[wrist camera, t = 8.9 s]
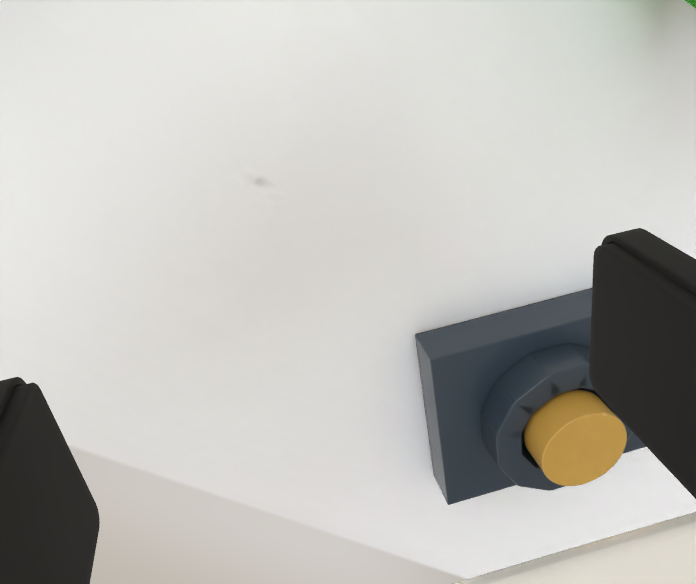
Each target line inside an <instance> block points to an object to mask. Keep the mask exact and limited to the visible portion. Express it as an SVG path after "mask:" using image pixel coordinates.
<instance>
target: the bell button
mask: <svg viewBox="0 0 696 584" xmlns="http://www.w3.org/2000/svg"><path fill="white" fill-rule="evenodd" d="M524 441H525V445H526V448H527V450H528V451H529V453H530V454H531V455H532V457H533V458H534V460H535V461H536V463H537V464H538V466H539V467H540V468H541V470H542V471H543V473H544V474H545V476H546V477H547V478H548V479H549V480H550V481H552V482H554V483H556V484H559V485H563V486H576V485H581V484H585V483H588V482H590V481H593V480H595V479H597V478H598V477H600V476H602V475H603V474H605V473H606V472H607V471H608V470H609V469H611V468H612V467H613V466H614V464H615V463H616V462H617V461H618V460H619V458H620V457H621V455H622V453H623V451H624V449H625V446H626V441H627V433H626V429H625V426H624V424H623V423H622V421H621V420H620V419H619V418H618V417H617V416H616V415H615V414H614V413H613V412H612V411H611V410H610V409H609V408H608V407H607V406H606V404H605V403H604V402H603V401H602V400H601V399H600V398H599V397H598V396H596V395H595V394H593V393H591V392H588V391H584V390H571V391H568V392H564V393H561V394H557V395H556V396H554V397H553V398H552V399H550V400H549V401H548V402H546V403H545V404H544V405H543V406H541V407H540V408H539V409H537V410H536V411H535V412H534V413H533V414H532V415H531V417H530V419H529V421H528V423H527V425H526V428H525V432H524Z"/></svg>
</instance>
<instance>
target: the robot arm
mask: <svg viewBox="0 0 696 584" xmlns="http://www.w3.org/2000/svg"><path fill="white" fill-rule="evenodd" d="M589 377H590V382H591V384H592V387H593V388H594V390H595V392H596V393H597V394H598V395H599V396H600V397H601V399H602V400H603V401H604V402H605V403H606V404H607V405H608V406H609V407H610V408H611V409H612V410H613V411H614V412H615V413H616V415H617V416H618V417H619V418H620V419H621V420H622V421H623V422H624V423H625V424H626V425H627V426H628V427H629V428H630V429H631V430H632V432H633V433H634V434H635V435H636V436H637V437H638V438H639V439H640V440H641V441H642V442H643V443H644V444H645V445H646V446H647V447H648V449H649V450H650V451H651V452H652V453H653V454H654V455H655V456H656V457H657V458H658V459H659V460H660V461H661V462H662V463H663V464H664V466H665V467H666V468H667V469H668V470H669V471H670V472H671V473H672V474H673V475H674V476H675V477H676V478H677V479H678V480H679V481H680V483H681V484H682V485H683V486H684V487H685V488H686V489H687V490H688V491H689V492H690V493H691V494H692V495H693V496H694V497H695V498H696V259H694V258H692V257H691V256H689V255H687V254H685V253H684V252H682V251H680V250H679V249H677V248H675V247H673V246H672V245H670V244H668V243H667V242H665V241H663V240H661V239H660V238H658V237H656V236H655V235H653V234H651V233H650V232H648V231H646V230H644V229H641V228H638V229H633V230H629V231H625V232H621V233H616V234H612V235H608V236H606V237H605V238H604V240H603V242H602V245H601V246H598V247H597V248H596V250H595V252H594V264H593V287H592V311H591V335H590V359H589ZM98 532H99V514H98V509H97V506H96V503H95V501H94V499H93V497H92V495H91V493H90V491H89V489H88V486H87V484H86V482H85V480H84V478H83V476H82V474H81V472H80V470H79V468H78V466H77V464H76V462H75V460H74V458H73V455H72V454H71V451H70V449H69V447H68V445H67V443H66V441H65V439H64V437H63V435H62V433H61V431H60V429H59V426H58V424H57V422H56V420H55V418H54V416H53V414H52V412H51V410H50V408H49V406H48V404H47V402H46V400H45V398H44V396H43V393H42V391H41V390H40V388H39V386H38V385H37V384H35V383H29V384H26V383H25V382H24V381H23V380H22V379H21V378H19V377H15V378H11V379H7V380H2V381H0V584H90V578H91V572H92V566H93V561H94V555H95V549H96V543H97V537H98ZM454 584H696V512H694V513H691V514H687V515H684V516H680V517H677V518H674V519H670V520H667V521H663V522H660V523H656V524H653V525H650V526H646V527H643V528H639V529H636V530H632V531H629V532H626V533H622V534H619V535H615V536H612V537H609V538H605V539H602V540H598V541H595V542H591V543H588V544H585V545H581V546H578V547H574V548H571V549H568V550H564V551H561V552H557V553H554V554H551V555H547V556H544V557H541V558H537V559H534V560H531V561H527V562H524V563H521V564H517V565H514V566H510V567H507V568H504V569H500V570H497V571H494V572H490V573H487V574H484V575H480V576H477V577H474V578H470V579H467V580H463V581H460V582H457V583H454Z"/></svg>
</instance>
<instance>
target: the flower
mask: <svg viewBox="0 0 696 584" xmlns="http://www.w3.org/2000/svg"><path fill="white" fill-rule="evenodd" d="M685 1H687V2H688V3H689V4H691V5H692V6H693V7H695V8H696V0H685Z"/></svg>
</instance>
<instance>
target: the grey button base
mask: <svg viewBox="0 0 696 584" xmlns="http://www.w3.org/2000/svg"><path fill="white" fill-rule="evenodd" d="M591 311H592V288H591V289H588V290H584V291H580V292H576V293H572V294H569V295H565V296H561V297H557V298H553V299H549V300H546V301H542V302H538V303H534V304H530V305H527V306H523V307H519V308H515V309H511V310H507V311H504V312H500V313H496V314H492V315H488V316H485V317H481V318H477V319H473V320H469V321H466V322H462V323H458V324H454V325H450V326H446V327H443V328H439V329H435V330H431V331H427V332H424V333H420V334H416V335H415V337H416V345H417V352H418V360H419V367H420V375H421V382H422V389H423V397H424V404H425V412H426V419H427V427H428V434H429V442H430V449H431V457H432V464H433V472H434V476H435V478H436V480H437V482H438V485H439V487H440V489H441V491H442V493H443V495H444V497H445V499H446V502H447V504H448V505H450V504H453V503H456V502H460V501H463V500H467V499H470V498H473V497H477V496H480V495H484V494H487V493H490V492H494V491H497V490H501V489H504V488H507V487H511V486H514V485H518V486H522V487H529V488H536V489H543V490H554V489H558V488H561V487H564V486H563V485H559V484H556V483H554V482H552V481H550V480H549V479H548V478H547V477H546V476H545V474H544V473H543V471H542V470H541V468H540V467H539V466H538V464H537V463H536V461H535V460H534V458H533V457H532V455H531V454H530V453H529V451H528V450H527V448H526V445H525V441H524V432H525V428H526V425H527V423H528V421H529V419H530V417H531V415H532V414H533V413H534V412H535V411H536V410H537V409H539V408H540V407H541V406H543V405H544V404H545V403H546V402H548V401H549V400H550V399H552V398H553V397H554V396H556V395H557V394H561V393H564V392H568V391H571V390H584V391H588V392H591V393H593V394H595V395H596V396H598V397H599V398H600V399H601V397H600V396H599V395H598V394H597V393H596V392H595V390H594V388H593V387H592V384H591V382H590V377H589V359H590V335H591ZM601 400H602V399H601ZM602 401H603V400H602ZM603 402H604V401H603ZM604 403H605V402H604ZM605 404H606V403H605ZM606 406H607V407H608V408H609V409H610V410H611V411H612V412H613V413H614V414H615V415H616V413H615V412H614V411H613V410H612V409H611V408H610V407H609V406H608V405H607V404H606ZM616 416H617V415H616ZM617 417H618V416H617ZM618 418H619V417H618ZM619 419H620V418H619ZM620 420H621V419H620ZM621 421H622V420H621ZM622 423H623V424H624V426H625V429H626V433H627V441H626V446H625V449H624V451H623V453H626V452H629V451H633V450H636V449H640V448H643V447H646V445H645V444H644V443H643V442H642V441H641V440H640V439H639V438H638V437H637V436H636V435H635V434H634V433H633V432H632V430H631V429H630V428H629V427H628V426H627V425H626V424H625V423H624V422H623V421H622ZM623 453H622V454H623Z"/></svg>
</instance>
